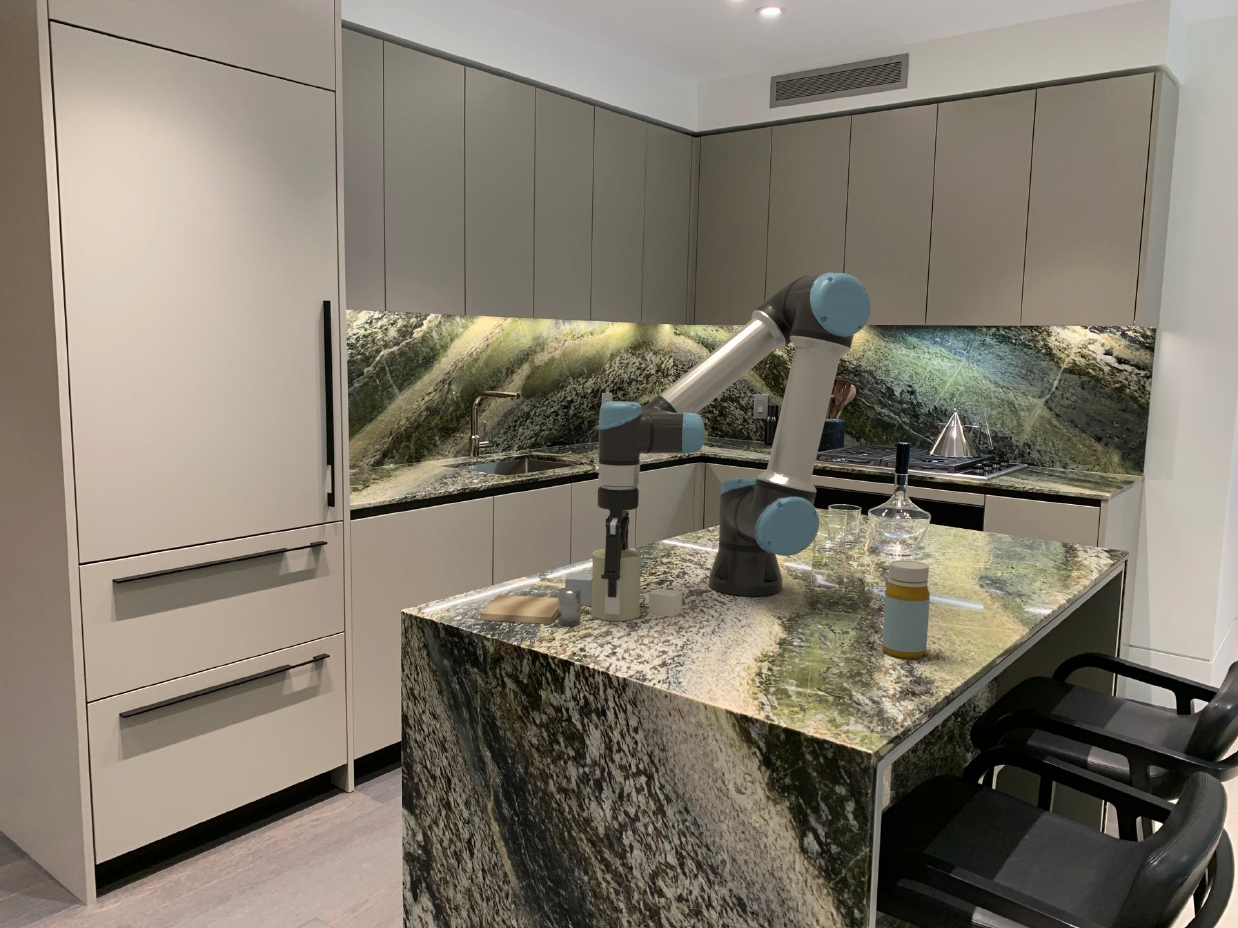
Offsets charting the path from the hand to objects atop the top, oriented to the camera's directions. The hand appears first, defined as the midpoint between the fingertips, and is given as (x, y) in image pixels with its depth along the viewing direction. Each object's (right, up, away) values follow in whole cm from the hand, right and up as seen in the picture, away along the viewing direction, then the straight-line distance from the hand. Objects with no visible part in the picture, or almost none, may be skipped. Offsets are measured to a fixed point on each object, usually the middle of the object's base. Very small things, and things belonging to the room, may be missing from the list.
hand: (615, 606), depth 179 cm
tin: (-8, -2, -6) cm, 10 cm away
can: (0, -2, 0) cm, 2 cm away
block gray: (-7, 0, +9) cm, 11 cm away
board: (-17, -1, 0) cm, 17 cm away
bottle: (+48, -5, -19) cm, 52 cm away
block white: (+9, -2, +2) cm, 10 cm away
